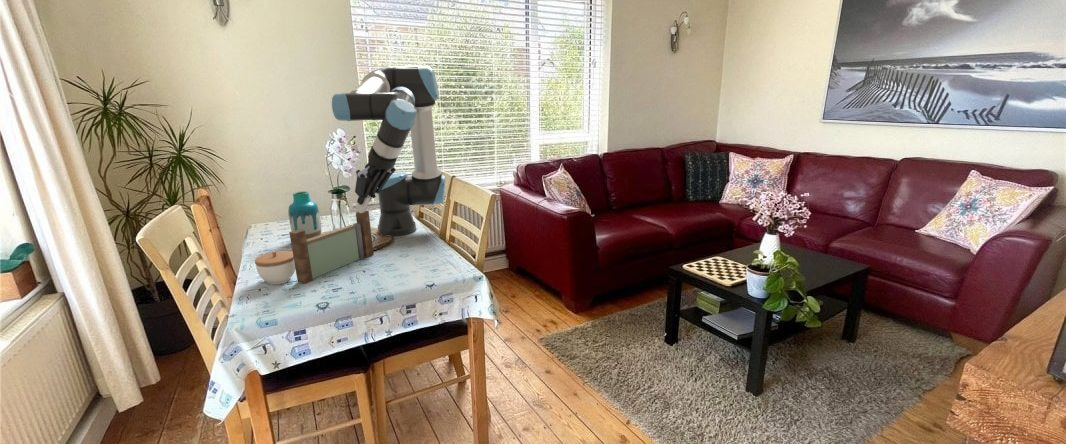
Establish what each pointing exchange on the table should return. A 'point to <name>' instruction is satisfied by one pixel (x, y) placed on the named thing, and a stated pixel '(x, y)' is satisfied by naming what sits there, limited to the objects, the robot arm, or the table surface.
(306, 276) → the gate posts
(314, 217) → the vase
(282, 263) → the lidded jar
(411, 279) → the table surface
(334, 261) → the gate
